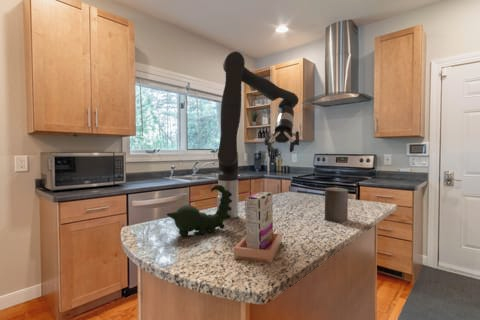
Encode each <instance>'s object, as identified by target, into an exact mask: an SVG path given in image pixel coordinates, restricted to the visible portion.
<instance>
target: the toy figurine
mask: <svg viewBox="0 0 480 320" xmlns="http://www.w3.org/2000/svg"><path fill="white" fill-rule="evenodd" d="M214 191H217V192H218V193H219V192H221V193H222V197H221V199H220V202H221V203H220V204H219V209H218V210H217V209H216V212H215V213H213V214H207V213H205V212H200V210H199V209H198V208H197V207H196V206H194V205H190V204H186V205H182V206H181V207H179V208H178V209H177V210H176V211H173V212H168V213H166V216H167V217H169V218H170V219H172V220H173V221H174V224H175V226H176V228H177V229H178V234H179V235H180V236H181V237H182V238H183V237H184V238H186V237H188V236H189V233H190V232H193V231H196V232H198V233H199V234H200V235H204V234H206V231H207V232H210V233H211V234H215V233H216V229H217V228H219V229H221V230H222V229H224V228H225V225H226V224H224V221H225V220H230V219H232V218H231V216H230V215H228V210H229V211H231V210H232V208H231V207H229V205H228V204H229V203H231V202H232V200H231V199H230V198H229V197H230V196H232V193H230V192H229V191H228V190H225V188H224V187H223V186H222V185H218V184H215V185H213V186H212V187H211V189H210V192H214Z"/></svg>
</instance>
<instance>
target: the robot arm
mask: <svg viewBox="0 0 480 320" xmlns="http://www.w3.org/2000/svg"><path fill="white" fill-rule="evenodd" d="M245 62H246V61H245V58H244V56H243V54H242V53H241V52H239V51H236V50H234V51H231V52H229V53H228V54H227V55H226V56H225V58H224V61H223V62H222V63H223V64H222V68H223V70H224V72H225V82H224V83H225V84H224V88H223V92H222V97H221V104H220V139H219V146H218V152H217V159H218V174H217V176H218V177H217V179H218V184H217V185H222V186H223V187H224V188H225V190H228V191H229V192H230V193H232V196H230V197H229V198H230V199H231V200H232V202H231V203H229V204H228V205H229V207H231V208H232V210H231V211H229V210H228V215H230V216H231V218H230V219H235V218H238V217H239V153H238V145H237V144H238V143H237V142H238V132H239V127H240V124H241V123H240V122H241V115H242V113H241V112H242V83H244V84H246V85H247V86H250V88H252V89H254V90H255V91H257V92H259V93H260V94H261V95H262V96H264V97H265V98H267V99H268V100H270V101H272V102H274V101H276V100H277V99H280V101H279V102H278V103H277V112H278V115H277V118H276V121H275V128H274V132H273V133H270V132H269V131H267V132H266V133H265V137H264V141H263V142H264V145H265V146H266V147H267V152H268V153H272V150H273V149H272V148H273V146H275V145H277V143H288V144H289V153H293V152H294V150H295V147H296V146H300V131H298V130H297V131H295V132H293V127H294V116H295V111H294V108H295V107H297V105H298V104H299V97H298V96H297V94H296V93H294V92H292V91H289V90H287V89H284V88H281V87H279V86H277V85H276V84H275V83H274V82H272V81H271V80H269V79H268V78H265V77H263V76H261V75H258V74H256V73H254V72H252V71H250V70H249V69H248V68H247V67H246V66H245V64H246V63H245ZM293 138H294V139H295V140H294V139H293ZM221 197H222V193H221V192H219V191H218V195H217V196H216V211H217V210H218V209H219V204H220V203H221V202H220V199H221Z"/></svg>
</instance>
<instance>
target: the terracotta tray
mask: <svg viewBox="0 0 480 320" xmlns="http://www.w3.org/2000/svg"><path fill="white" fill-rule="evenodd" d="M282 235H283V234H282V233H281V232H279V233H278V232H273V242H272V243H271V244H270V245H269V246H268V247H267V248H266V249H265V250H261V249H252V248H246V235H244V237H243V238H242V239H240V241H239V242H238V243H237V244H236V245H235V246H234V247H233V259H236V260H237V259H238V260H245V261H253V262H260V261H261V262H262V261H263V263H269V262H272V263H273V262H274V260H275V259H276V258H275V257H276V256H277V253H278V251H279V249H280V247H281V245H282V242H283V241H282V240H283V238H282V237H283V236H282ZM261 262H260V263H261Z"/></svg>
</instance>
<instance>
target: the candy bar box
mask: <svg viewBox="0 0 480 320" xmlns="http://www.w3.org/2000/svg"><path fill="white" fill-rule="evenodd" d="M244 199H245V201H244V203H245V206H244V207H245V209H244V210H245V236H246V248H252V249H261V250H265V249H266V248H267V247H268V246H269V245H270V244H271V243H272V242H273V233H274V228H273V227H274V223H273V222H274V220H273V192H270V191H268V192H267V191H258V192H256V193H252V194H250V195H248V196H246V197H244Z"/></svg>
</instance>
